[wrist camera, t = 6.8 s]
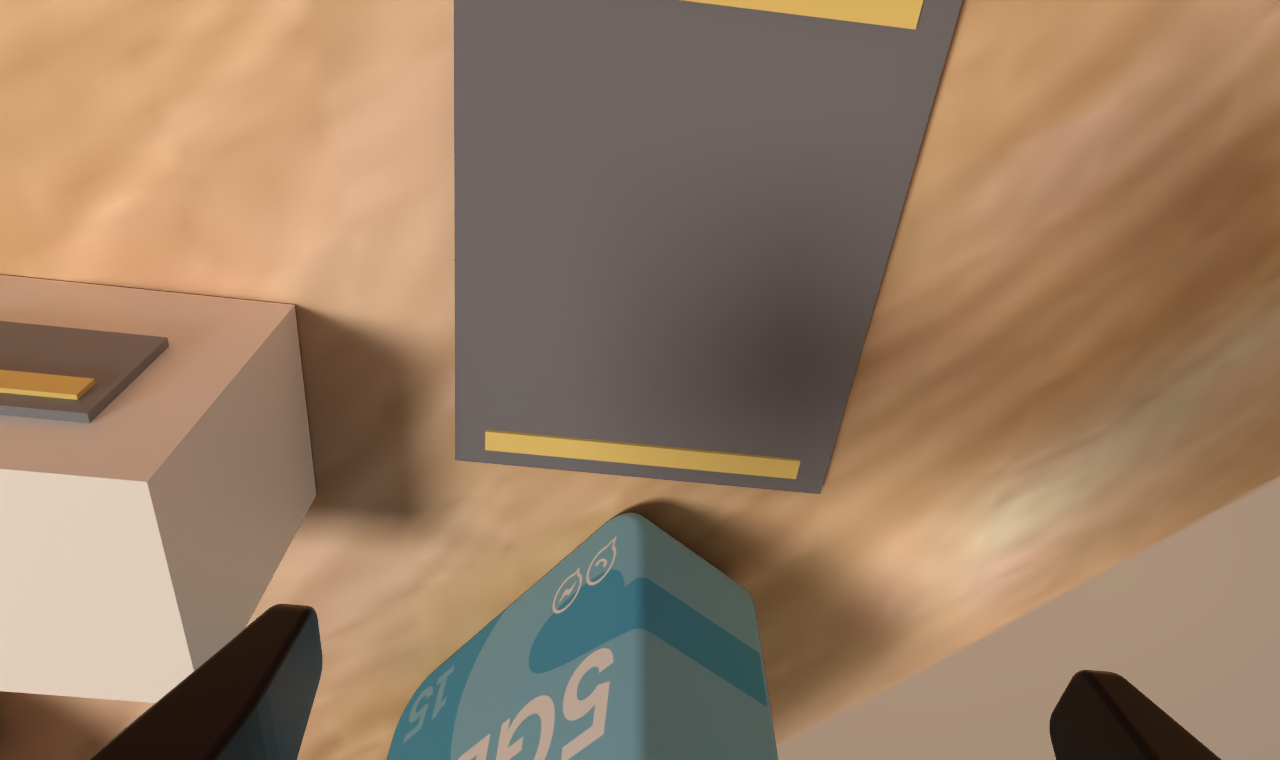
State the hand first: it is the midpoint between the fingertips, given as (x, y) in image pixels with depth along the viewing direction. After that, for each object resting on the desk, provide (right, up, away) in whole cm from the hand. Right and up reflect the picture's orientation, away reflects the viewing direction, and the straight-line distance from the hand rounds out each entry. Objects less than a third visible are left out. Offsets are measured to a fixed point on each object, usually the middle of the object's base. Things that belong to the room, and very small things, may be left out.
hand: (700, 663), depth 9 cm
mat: (0, +6, +10) cm, 12 cm away
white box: (-14, +3, +12) cm, 18 cm away
